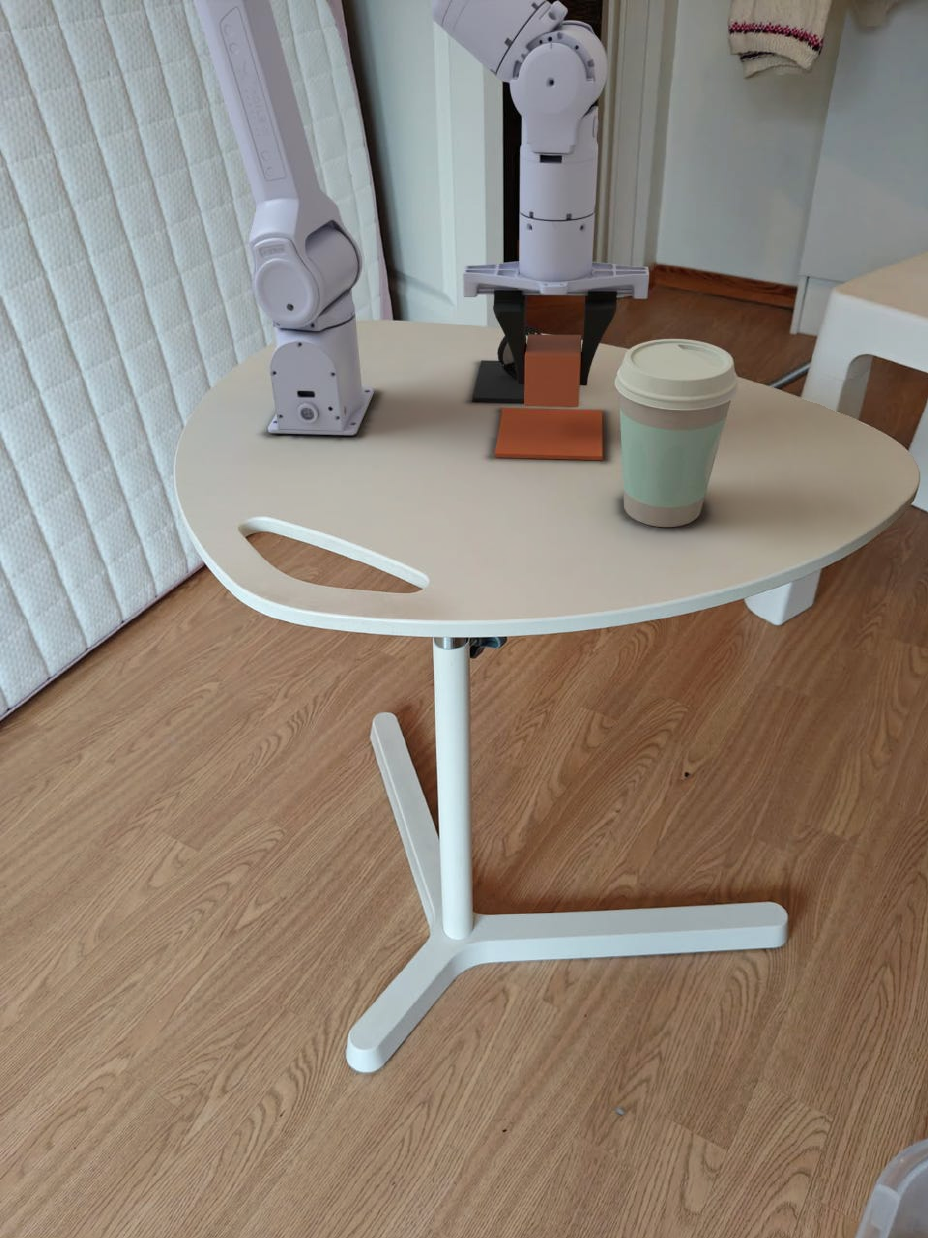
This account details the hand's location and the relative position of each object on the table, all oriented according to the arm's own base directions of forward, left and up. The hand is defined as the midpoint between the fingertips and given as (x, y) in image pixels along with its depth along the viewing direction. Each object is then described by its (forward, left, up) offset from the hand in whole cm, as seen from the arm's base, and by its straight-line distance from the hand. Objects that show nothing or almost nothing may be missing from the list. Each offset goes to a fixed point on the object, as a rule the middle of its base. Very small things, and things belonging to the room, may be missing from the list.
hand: (552, 380), depth 83 cm
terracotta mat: (0, 0, -5) cm, 5 cm away
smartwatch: (+11, +3, -5) cm, 12 cm away
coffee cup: (-12, -9, -5) cm, 16 cm away
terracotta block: (0, 0, -1) cm, 1 cm away
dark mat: (+11, +3, -5) cm, 12 cm away
